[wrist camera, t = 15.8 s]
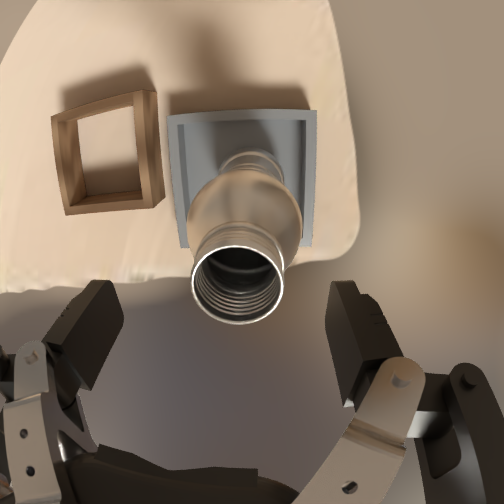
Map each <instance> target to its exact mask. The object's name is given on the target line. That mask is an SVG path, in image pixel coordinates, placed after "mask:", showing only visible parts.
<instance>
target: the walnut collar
mask: <svg viewBox="0 0 504 504" xmlns="http://www.w3.org/2000/svg"><path fill="white" fill-rule="evenodd" d="M133 105H134V121H135V134H136V145H137V155H138V165H139V173H140V181H141V188H142V190H140V191H129V192H120V193H111V194H102V195H94V196H87V193H86V188H85V182H84V176H83V169H82V162H81V155H80V146H79V137H78V125H77V120H78V119H82V118H85V117H88V116H92V115H96V114H99V113H103V112H107V111H111V110H115V109H119V108H124V107H128V106H133ZM51 126H52V137H53V147H54V155H55V162H56V169H57V175H58V181H59V187H60V192H61V197H62V202H63V206H64V211H65V215H66V216H67V215H76V214H86V213H97V212H108V211H121V210H134V209H149V208H154V207H155V206H156V205H157V204H158V203H159V202H161V201H162V200H163V199H164V198H165V188H164V180H163V170H162V160H161V149H160V137H159V123H158V105H157V92H152V91H147V90H138V91H134V92H129V93H125V94H121V95H117V96H113V97H109V98H105V99H102V100H98V101H95V102H92V103H88V104H85V105H82V106H79V107H76V108H73V109H70V110H67V111H64V112H62V113H59V114H56V115H54V116H51Z"/></svg>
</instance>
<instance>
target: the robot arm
mask: <svg viewBox="0 0 504 504" xmlns="http://www.w3.org/2000/svg"><path fill="white" fill-rule="evenodd" d="M123 322H124V315H123V311H122V308H121V305H120V303H119V300H118V297H117V294H116V291H115V288H114V285H113V283H112V282H111V281H110V280H92V281H91V282H90V283H89V284H88V285H87V286H86V288H85V289H84V290H83V291H82V292H81V293H80V294H79V295H77V296H76V297H75V298H73V299H72V300H71V302H70V303H69V304H68V305H67V307H66V310H64V311H63V312H62V313H61V316H60V317H58V319H57V320H56V321H55V323H54V324H53V326H52V327H51V328H50V330H49V331H48V332H47V334H46V335H45V337H44V338H43V340H42V341H41V342H40V341H31V342H28V343H26V344H25V345H23V346H22V347H21V348H20V349H19V351H18V352H17V354H9V355H7V354H6V353H5V351H4V350H3V348H2V347H1V345H0V393H1V394H2V395H3V396H4V397H5V398H6V402H5V404H4V406H3V409H2V411H1V413H0V504H380V503H381V502H382V500H383V498H384V496H385V495H386V493H387V491H388V489H389V487H390V485H391V483H392V482H393V480H394V478H395V476H396V474H397V472H398V470H399V467H400V465H401V463H402V461H403V458H404V456H405V453H406V446H404V442H405V439H406V437H414V441H415V446H416V450H417V455H418V460H419V465H420V470H421V475H422V481H423V487H424V493H425V500H426V504H504V417H503V415H502V412H501V410H500V407H499V405H498V403H497V400H496V398H495V396H494V394H493V391H492V389H491V387H490V385H489V383H488V381H487V379H486V377H485V375H484V373H483V372H482V371H481V370H480V369H479V368H478V367H477V366H475V365H473V364H470V363H460V364H458V365H456V366H455V367H454V368H453V369H452V371H451V373H450V374H449V375H446V374H432V373H425V372H424V371H423V369H422V368H421V367H420V365H419V364H418V363H416V362H415V361H413V360H411V359H409V358H406V357H404V356H403V353H402V351H401V349H400V347H399V345H398V343H397V341H396V338H395V336H394V334H393V332H392V330H391V328H390V326H389V324H387V320H386V318H385V316H384V315H383V312H382V310H381V308H380V306H379V304H378V303H377V302H376V301H375V300H374V299H373V298H372V297H370V296H369V295H368V294H360V292H359V290H358V288H357V286H356V284H355V282H354V281H353V280H347V281H332V282H331V285H330V292H329V297H328V303H327V309H326V315H325V330H326V335H327V339H328V343H329V347H330V351H331V355H332V359H333V363H334V368H335V372H336V376H337V381H338V385H339V389H340V394H341V399H342V404H343V407H349V406H354V408H355V412H356V414H355V415H354V417H353V419H352V421H351V423H350V424H349V425H348V427H347V429H346V430H345V432H344V433H343V435H342V437H341V438H340V440H339V441H338V443H337V444H336V446H335V447H334V449H333V451H332V452H331V453H330V455H329V456H328V458H327V459H326V460H325V462H324V463H323V465H322V466H321V467H320V469H319V470H318V471H317V473H316V474H315V476H314V477H313V478H312V480H311V481H310V482H309V483H308V485H307V486H306V487H305V488H304V489H303V491H302V492H301V493H299V492H297V491H296V490H294V489H293V488H290V487H289V486H287V485H285V484H283V483H280V482H278V481H275V480H271V479H269V478H265V477H261V476H258V469H247V468H246V469H245V468H224V467H208V468H199V469H188V470H174V471H173V470H167V469H164V468H162V467H160V466H157V465H155V464H153V463H151V462H149V461H147V460H145V459H143V458H140V457H138V456H137V455H135V454H133V453H129V452H126V451H122V450H118V449H115V448H111V447H108V446H105V445H102V444H99V447H97V445H96V444H95V442H94V440H93V439H92V436H91V434H90V430H89V427H88V424H87V421H86V417H85V414H84V410H83V406H82V403H81V398H80V396H79V394H78V393H77V392H78V390H79V388H82V389H86V390H90V391H91V390H92V388H93V386H94V383H95V381H96V379H97V377H98V375H99V373H100V371H101V368H102V366H103V364H104V362H105V360H106V358H107V356H108V354H109V352H110V350H111V348H112V346H113V344H114V342H115V340H116V338H117V336H118V334H119V332H120V330H121V329H122V327H123ZM11 481H12V486H13V488H12V487H10V483H11Z"/></svg>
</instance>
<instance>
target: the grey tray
mask: <svg viewBox="0 0 504 504" xmlns="http://www.w3.org/2000/svg"><path fill="white" fill-rule="evenodd" d="M167 128H168V142H169V154H170V165H171V176H172V185H173V194H174V203H175V211H176V219H177V226H178V233H179V240H180V247H181V248H190V247H189V244H188V237H187V216H188V212H189V209H190V206H191V203H192V201H193V199H194V198H195V196H196V194H197V193H198V192H199V191H200V190H201V188H202V187H203V186H204V185H205V184H207V183H208V182H209V181H210V180H212V179H213V178H215V177H216V176H217V175H218V171H219V168H220V166H221V164H222V163H223V161H224V160H225V159H226V158H227V157H228V156H229V155H230V154H231V153H233V152H234V151H237V150H239V149H242V148H247V147H255V148H260V149H263V150H265V151H267V152H269V153H270V154H272V155H273V156H274V157H275V158H276V159H277V160H278V162H279V163H280V165H281V167H282V169H283V172H284V178H285V183H284V185H285V186H286V187H287V188H288V190H289V191H290V192H291V193H292V195H293V197H294V198H295V200H296V202H297V203H298V206H299V209H300V212H301V215H302V224H303V229H302V238H301V241H300V244H299V247H312V234H313V219H314V201H315V179H316V145H317V110H298V109H241V110H222V111H208V112H197V113H187V114H179V115H171V116H167Z"/></svg>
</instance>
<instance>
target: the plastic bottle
mask: <svg viewBox="0 0 504 504" xmlns="http://www.w3.org/2000/svg"><path fill="white" fill-rule="evenodd" d="M284 183H285V178H284V172H283V169H282V167H281V165H280V163H279V162H278V160H277V159H276V158H275V157H274V156H273V155H272V154H270V153H269V152H267V151H265V150H263V149H260V148H255V147H247V148H242V149H239V150H237V151H234V152H233V153H231V154H230V155H229V156H228V157H227V158H226V159H225V160H224V161H223V163H222V164H221V166H220V168H219V171H218V175H217V176H216V177H215V178H213V179H212V180H210V181H209V182H208V183H207V184H205V185H204V186H203V187H202V188H201V190H200V191H199V192H198V193H197V194H196V196H195V198H194V199H193V201H192V203H191V206H190V209H189V212H188V216H187V237H188V244H189V247H190V250H191V253H192V255H193V257H194V265H193V268H192V270H191V277H190V286H191V292H192V295H193V297H194V299H195V301H196V303H197V304H198V306H199V307H200V308H201V309H202V310H203V311H204V312H205V313H207V314H208V315H209V316H211V317H212V318H215V319H216V320H219V321H221V322H224V323H229V324H240V325H242V324H249V323H253V322H256V321H259V320H261V319H263V318H265V317H267V316H268V315H269V314H271V313H272V312H273V311H274V310H275V308H276V307H277V306H278V304H279V303H280V301H281V298H282V295H283V290H284V271H285V270H286V268H287V267H288V266H289V265H290V264H291V262H292V261H293V259H294V257H295V255H296V253H297V250H298V248H299V244H300V241H301V238H302V229H303V224H302V215H301V212H300V209H299V206H298V203H297V202H296V200H295V198H294V197H293V195H292V193H291V192H290V191H289V190H288V188H287V187H286V186H285V185H284Z"/></svg>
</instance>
